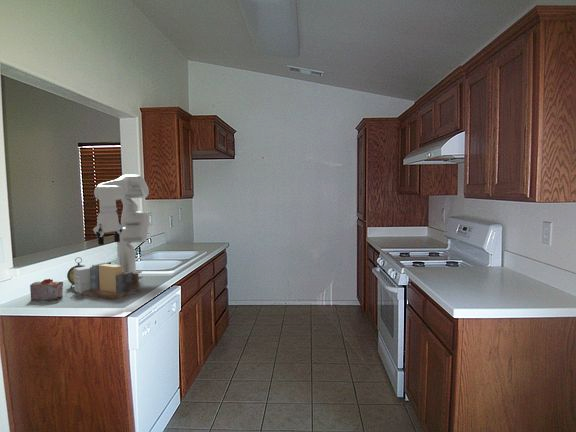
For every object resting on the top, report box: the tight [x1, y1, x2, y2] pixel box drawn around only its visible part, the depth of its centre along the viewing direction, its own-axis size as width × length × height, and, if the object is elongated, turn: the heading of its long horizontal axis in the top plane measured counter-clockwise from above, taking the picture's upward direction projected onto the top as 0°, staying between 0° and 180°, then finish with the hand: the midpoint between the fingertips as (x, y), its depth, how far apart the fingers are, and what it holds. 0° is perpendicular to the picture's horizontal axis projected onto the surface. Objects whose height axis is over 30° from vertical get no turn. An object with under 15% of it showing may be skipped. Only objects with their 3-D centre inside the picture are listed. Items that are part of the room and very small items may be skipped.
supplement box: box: [74, 265, 91, 295], centre depth 193 cm, size 7×7×13 cm
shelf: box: [82, 261, 140, 301], centre depth 189 cm, size 16×22×14 cm
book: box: [99, 263, 122, 292], centre depth 189 cm, size 4×12×13 cm, turn 66°
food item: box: [29, 278, 64, 301], centre depth 180 cm, size 14×8×10 cm, turn 94°
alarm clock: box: [66, 256, 86, 288], centre depth 203 cm, size 11×5×16 cm, turn 106°
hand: (109, 243), depth 188 cm, fingers open, 9 cm apart
